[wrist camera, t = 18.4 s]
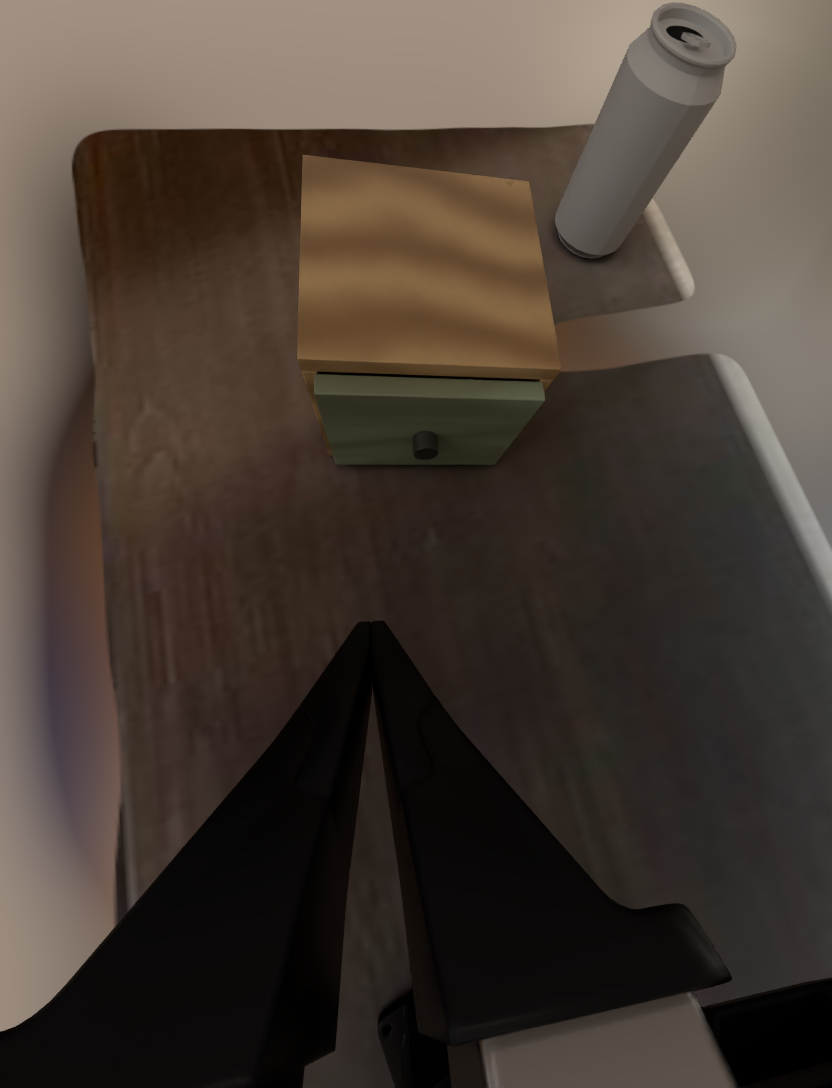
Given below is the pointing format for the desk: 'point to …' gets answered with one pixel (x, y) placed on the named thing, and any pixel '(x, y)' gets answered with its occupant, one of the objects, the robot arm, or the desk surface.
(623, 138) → the can
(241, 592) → the desk surface
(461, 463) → the drawer
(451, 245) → the cabinet
